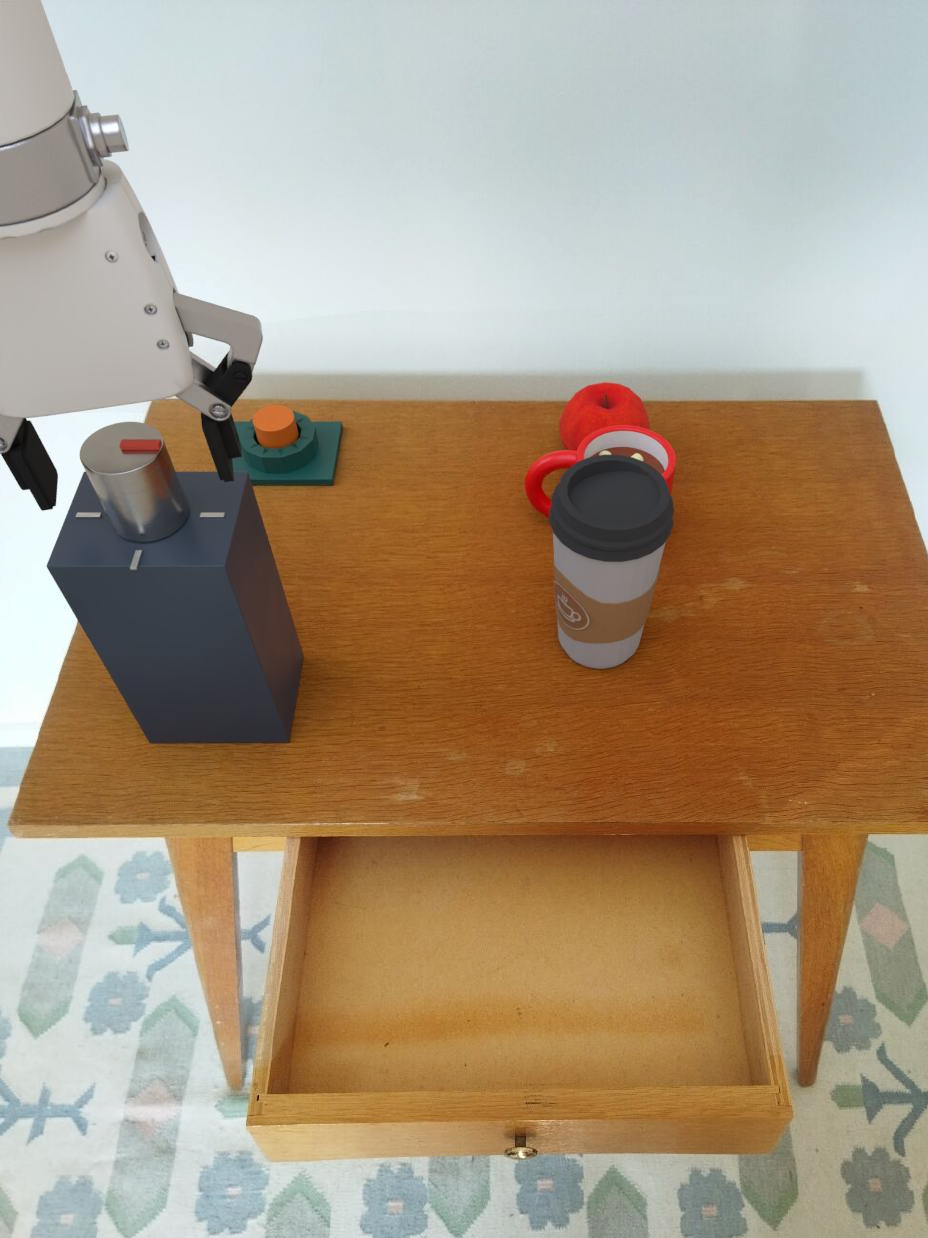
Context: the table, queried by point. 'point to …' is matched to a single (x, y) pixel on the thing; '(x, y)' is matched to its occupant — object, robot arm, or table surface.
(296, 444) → the push button base
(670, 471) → the mug
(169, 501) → the dial
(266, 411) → the button
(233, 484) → the tall knob tower
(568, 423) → the apple
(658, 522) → the coffee cup
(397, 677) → the table surface
